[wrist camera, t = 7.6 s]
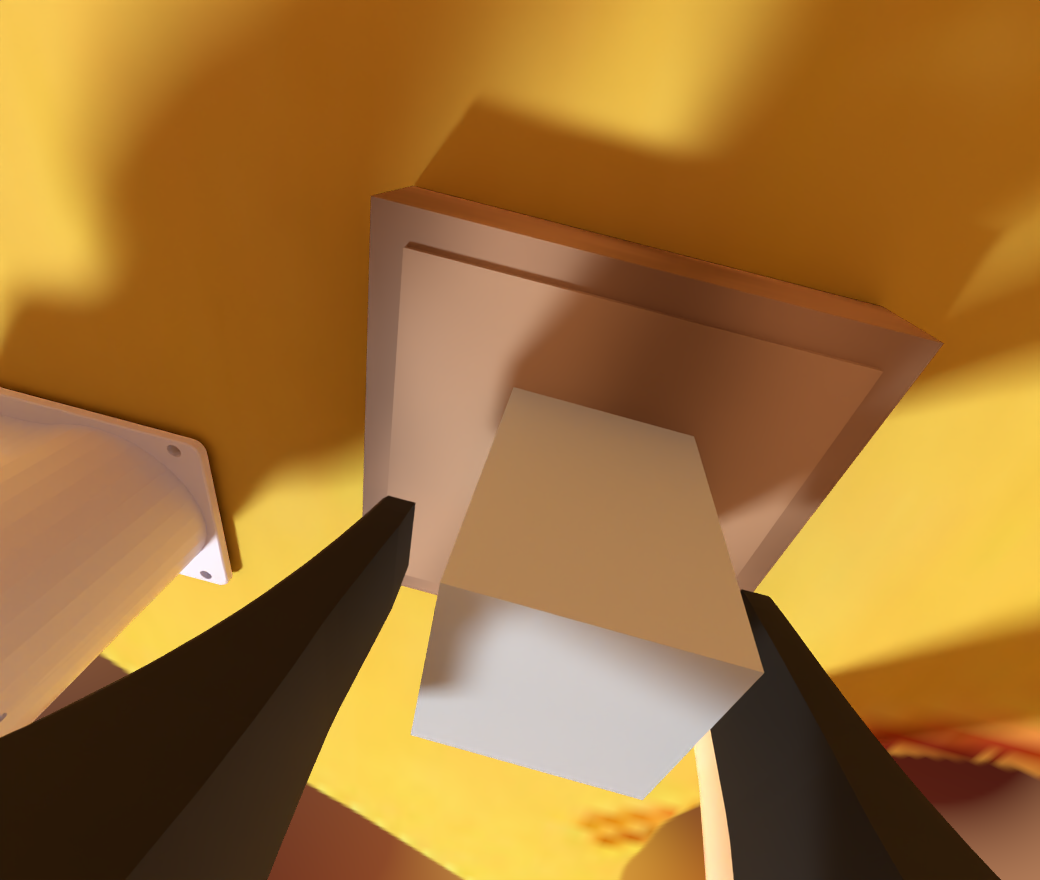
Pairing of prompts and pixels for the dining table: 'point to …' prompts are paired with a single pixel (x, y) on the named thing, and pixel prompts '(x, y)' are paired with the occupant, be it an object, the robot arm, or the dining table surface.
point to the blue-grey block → (586, 603)
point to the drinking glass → (712, 813)
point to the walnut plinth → (611, 366)
